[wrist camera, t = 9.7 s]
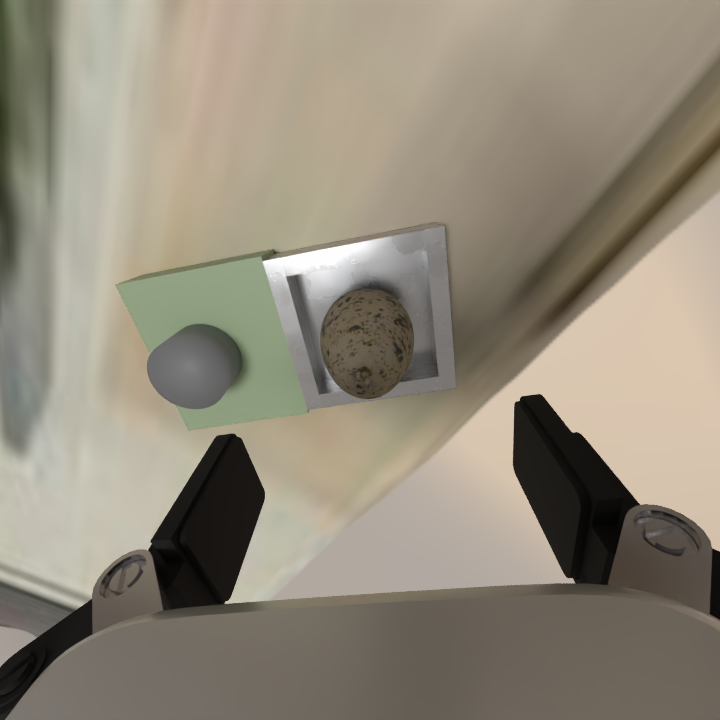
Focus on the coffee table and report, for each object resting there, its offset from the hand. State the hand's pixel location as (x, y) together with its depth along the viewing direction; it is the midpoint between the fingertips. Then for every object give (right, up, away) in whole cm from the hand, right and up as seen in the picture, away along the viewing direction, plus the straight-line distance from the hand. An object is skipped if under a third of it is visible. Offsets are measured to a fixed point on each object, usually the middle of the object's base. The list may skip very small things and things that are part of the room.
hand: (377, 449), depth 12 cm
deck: (-11, +5, +15) cm, 19 cm away
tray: (0, +6, +14) cm, 16 cm away
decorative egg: (0, +6, +14) cm, 15 cm away
